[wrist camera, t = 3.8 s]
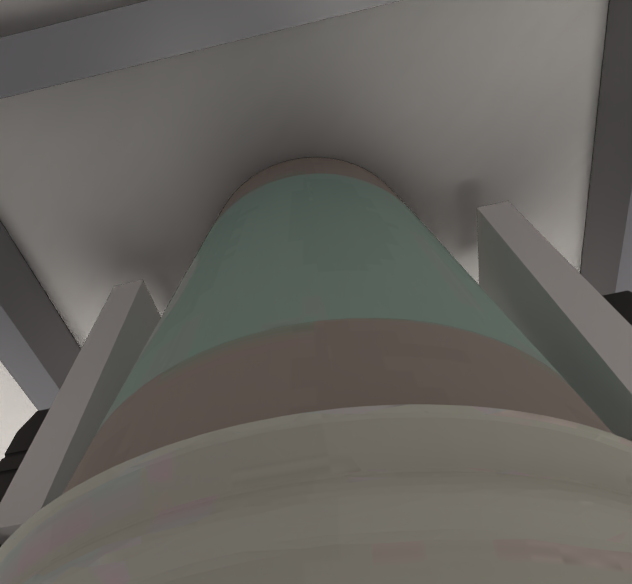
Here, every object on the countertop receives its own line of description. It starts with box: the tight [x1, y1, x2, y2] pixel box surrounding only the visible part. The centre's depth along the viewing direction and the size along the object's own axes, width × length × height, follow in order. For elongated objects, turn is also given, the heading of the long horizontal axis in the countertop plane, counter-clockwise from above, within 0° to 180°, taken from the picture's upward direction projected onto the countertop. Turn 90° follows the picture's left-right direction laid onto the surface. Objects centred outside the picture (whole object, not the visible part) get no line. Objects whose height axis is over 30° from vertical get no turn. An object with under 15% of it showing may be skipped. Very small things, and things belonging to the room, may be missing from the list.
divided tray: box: [0, 0, 632, 411], centre depth 10 cm, size 26×19×2 cm
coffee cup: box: [0, 158, 632, 584], centre depth 9 cm, size 8×9×12 cm
